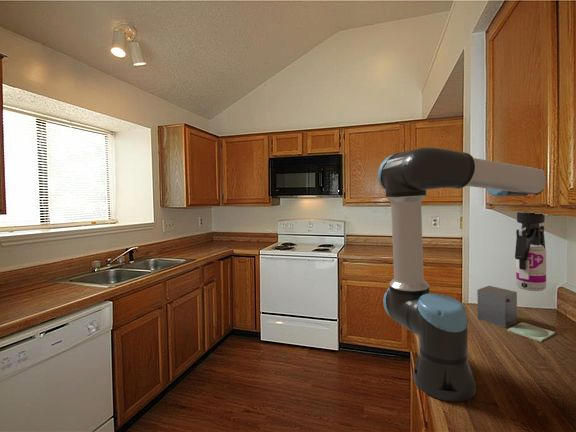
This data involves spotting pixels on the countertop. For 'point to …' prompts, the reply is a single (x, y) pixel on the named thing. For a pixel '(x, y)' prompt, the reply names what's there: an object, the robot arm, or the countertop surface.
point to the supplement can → (534, 270)
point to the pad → (531, 331)
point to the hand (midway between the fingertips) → (530, 275)
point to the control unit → (497, 305)
